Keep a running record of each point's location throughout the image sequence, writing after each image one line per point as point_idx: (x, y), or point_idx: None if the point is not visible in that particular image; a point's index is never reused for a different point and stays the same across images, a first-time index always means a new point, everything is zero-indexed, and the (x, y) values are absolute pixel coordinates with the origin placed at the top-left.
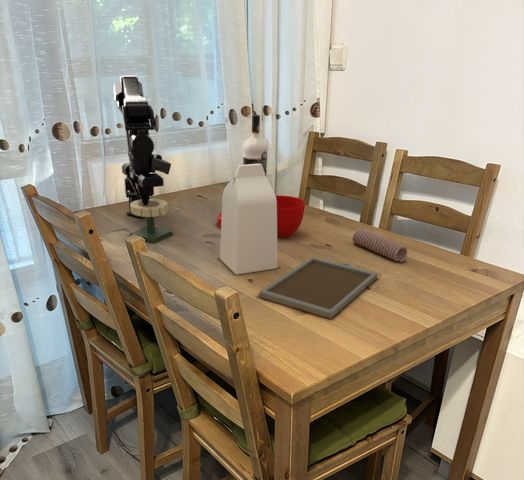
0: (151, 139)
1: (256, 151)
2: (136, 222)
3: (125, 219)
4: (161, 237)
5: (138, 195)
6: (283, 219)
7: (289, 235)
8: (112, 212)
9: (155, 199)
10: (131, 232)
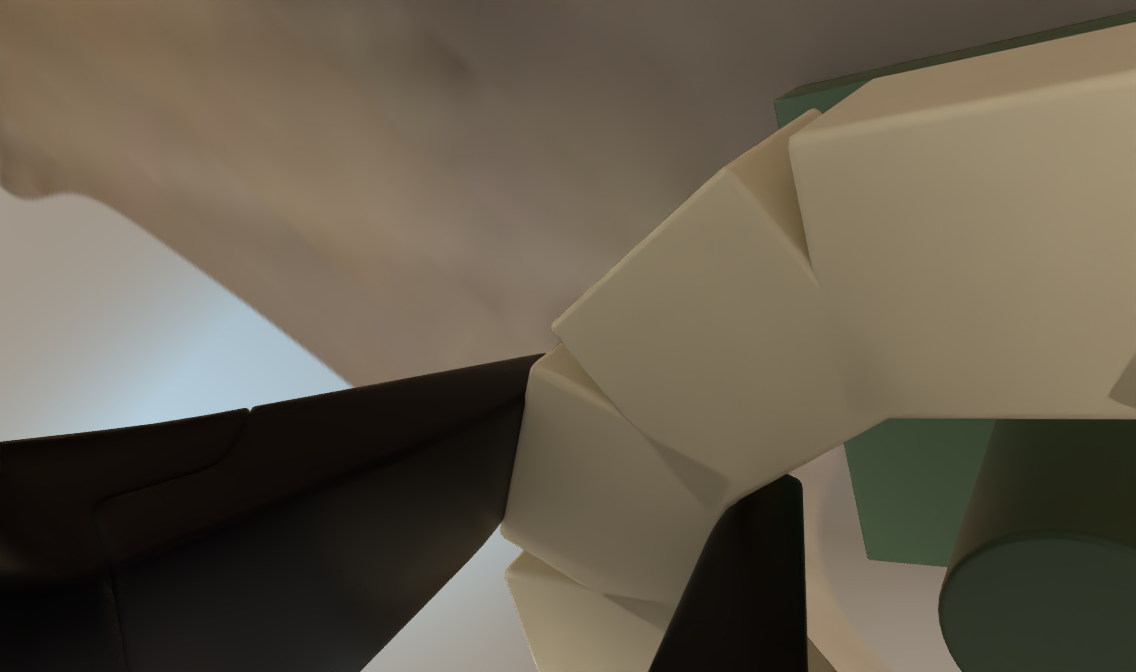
0: None
1: None
2: (459, 51)
3: (313, 88)
4: None
5: (418, 601)
6: None
7: None
8: (94, 47)
9: (768, 208)
10: (868, 527)
